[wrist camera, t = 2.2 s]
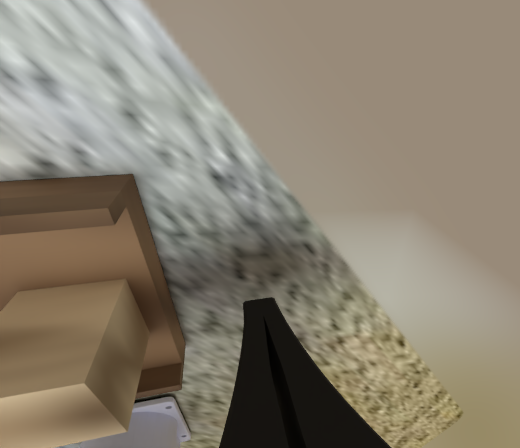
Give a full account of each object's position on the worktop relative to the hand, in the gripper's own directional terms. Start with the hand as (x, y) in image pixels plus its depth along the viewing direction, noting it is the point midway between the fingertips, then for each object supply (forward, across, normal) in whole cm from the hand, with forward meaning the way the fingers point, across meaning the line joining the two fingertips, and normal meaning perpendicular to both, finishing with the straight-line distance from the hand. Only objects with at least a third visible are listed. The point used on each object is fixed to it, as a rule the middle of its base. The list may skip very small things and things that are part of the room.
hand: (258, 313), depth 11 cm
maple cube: (+1, +8, 0) cm, 8 cm away
